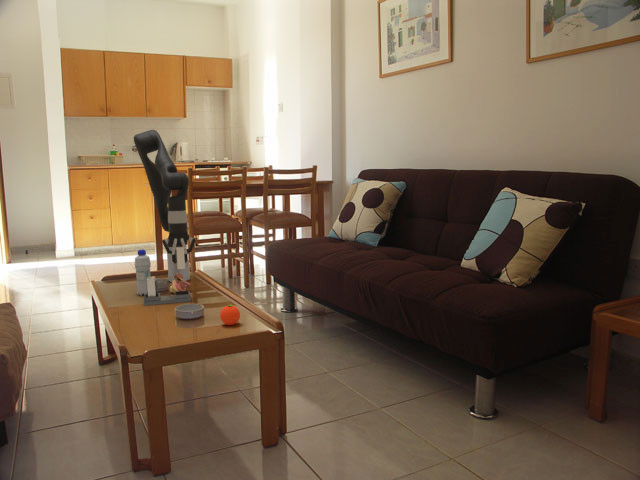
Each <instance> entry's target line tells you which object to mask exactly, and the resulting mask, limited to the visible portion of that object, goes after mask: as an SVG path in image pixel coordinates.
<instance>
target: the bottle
mask: <svg viewBox="0 0 640 480" xmlns="http://www.w3.org/2000/svg"><path fill="white" fill-rule="evenodd" d="M146 252H147V251H146V250H145V249H139V250H137V256H136V257H135V258H134V269H135V276H136V292H137V295H138V296H144V295H145V294H148V287H147V277H152V276H151V266H152V265H151V259H150V256H149V255H146V254H147V253H146Z"/></svg>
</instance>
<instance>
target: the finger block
mask: <svg viewBox="0 0 640 480" xmlns="http://www.w3.org/2000/svg"><path fill="white" fill-rule="evenodd" d="M175 259H176V263H177V268H178V269H185V257H184V247H183V246H177V247H176V250H175Z"/></svg>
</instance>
